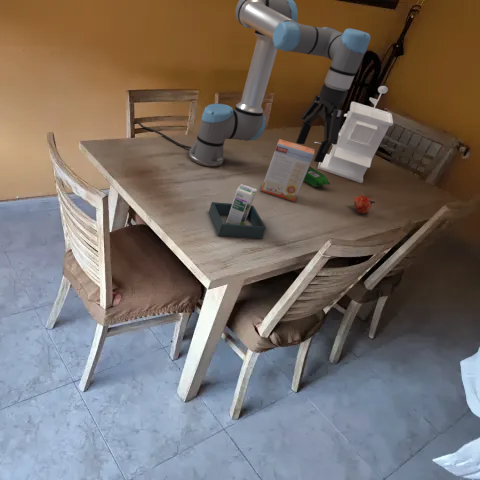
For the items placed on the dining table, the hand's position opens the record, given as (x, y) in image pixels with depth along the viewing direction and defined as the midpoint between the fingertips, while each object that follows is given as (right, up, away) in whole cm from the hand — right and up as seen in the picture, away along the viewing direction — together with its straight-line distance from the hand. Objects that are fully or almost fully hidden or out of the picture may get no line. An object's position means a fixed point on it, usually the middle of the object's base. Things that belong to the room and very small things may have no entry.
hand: (308, 152), depth 140 cm
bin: (-23, -24, +7) cm, 34 cm away
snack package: (+17, -3, +48) cm, 51 cm away
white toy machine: (+36, +7, +68) cm, 78 cm away
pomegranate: (+31, -17, +34) cm, 49 cm away
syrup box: (-23, -24, +7) cm, 34 cm away
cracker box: (-1, -10, +33) cm, 34 cm away
